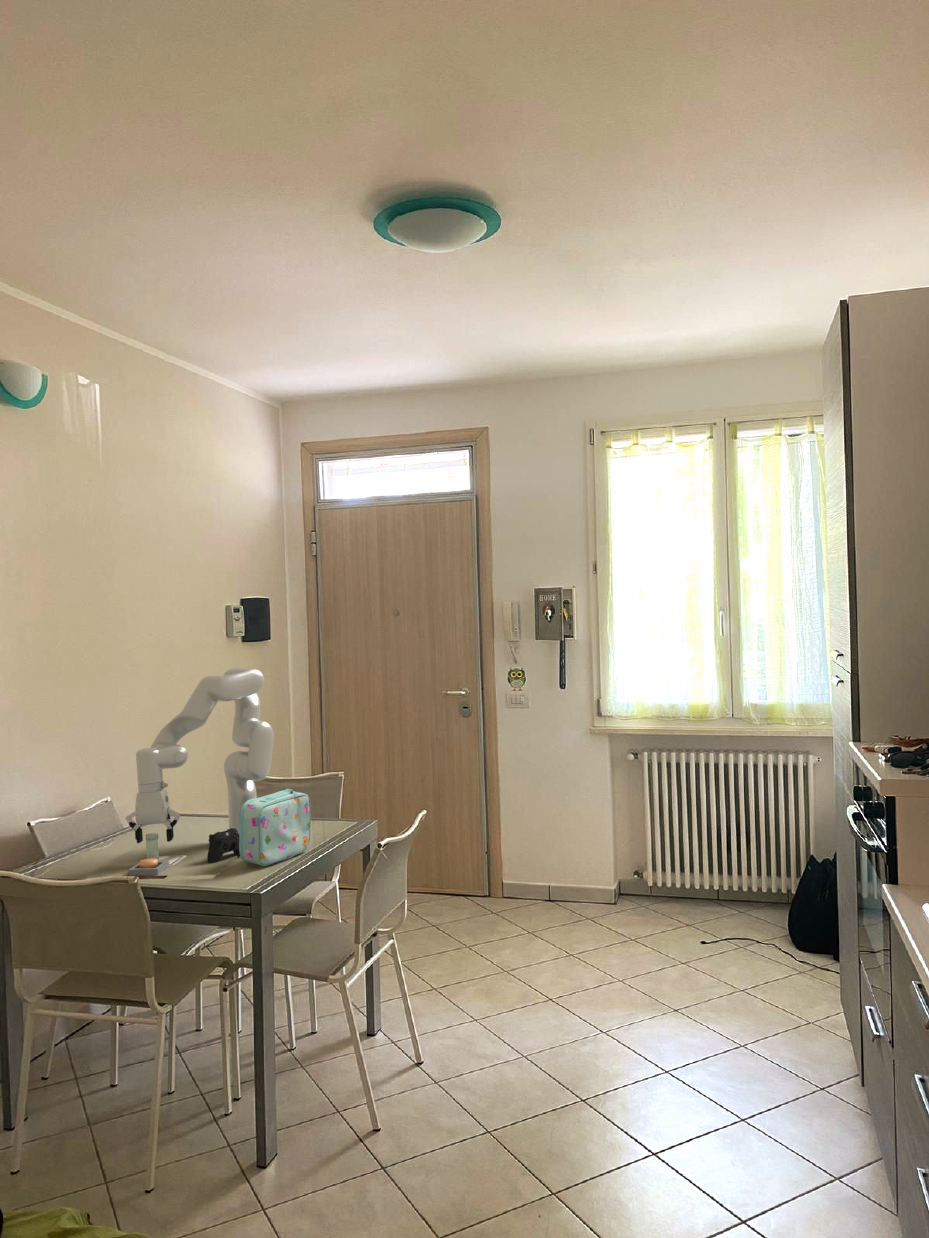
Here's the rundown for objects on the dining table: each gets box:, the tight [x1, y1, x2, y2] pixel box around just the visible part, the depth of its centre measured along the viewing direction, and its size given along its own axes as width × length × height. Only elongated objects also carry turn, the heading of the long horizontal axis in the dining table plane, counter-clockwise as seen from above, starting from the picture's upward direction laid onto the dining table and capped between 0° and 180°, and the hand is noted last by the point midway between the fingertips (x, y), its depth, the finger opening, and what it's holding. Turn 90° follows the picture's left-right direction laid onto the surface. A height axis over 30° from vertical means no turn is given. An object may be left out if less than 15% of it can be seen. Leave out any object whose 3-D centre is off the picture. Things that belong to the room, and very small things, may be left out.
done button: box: [139, 858, 158, 868], centre depth 285 cm, size 5×5×2 cm
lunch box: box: [239, 788, 312, 867], centre depth 299 cm, size 27×10×21 cm, turn 152°
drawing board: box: [137, 854, 188, 880], centre depth 292 cm, size 13×24×1 cm, turn 177°
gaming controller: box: [206, 828, 240, 864], centre depth 298 cm, size 14×6×10 cm, turn 148°
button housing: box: [127, 861, 170, 876], centre depth 285 cm, size 9×9×2 cm
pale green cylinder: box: [145, 832, 160, 859], centre depth 295 cm, size 4×4×9 cm
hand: (154, 841), depth 295 cm, fingers open, 9 cm apart
